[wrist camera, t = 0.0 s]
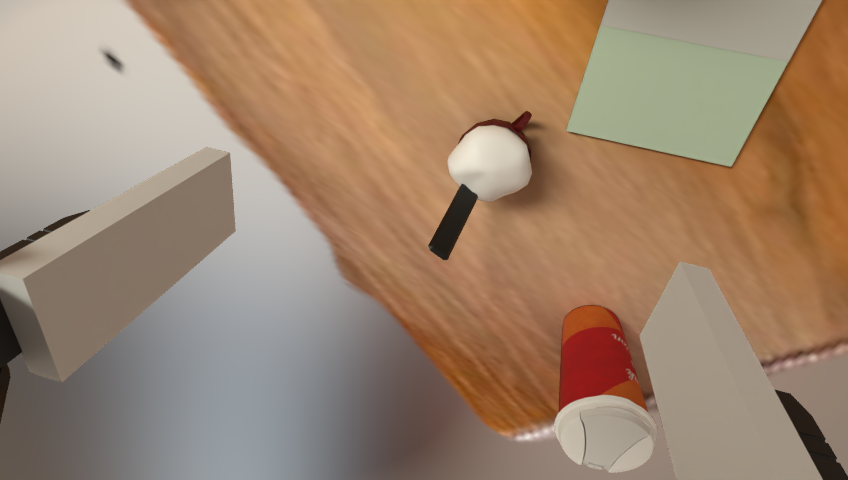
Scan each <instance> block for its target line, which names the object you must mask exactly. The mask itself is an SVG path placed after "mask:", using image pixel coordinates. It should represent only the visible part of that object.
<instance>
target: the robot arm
mask: <svg viewBox="0 0 848 480" xmlns="http://www.w3.org/2000/svg"><path fill="white" fill-rule="evenodd" d="M234 232H235V217H234V203H233V189H232V175H231V161H230V153H229V152H225V151H221V150H216V149H212V148H208V147H206V148H204V149H202V150H200V151H198V152H196V153H195V154H193V155H191V156H189V157H187V158H186V159H184V160H182V161H180V162H179V163H177V164H175V165H173V166H171V167H169V168H167V169H165V170H164V171H162V172H160V173H158V174H157V175H155V176H153V177H151V178H149V179H147V180H145V181H144V182H142V183H140V184H139V185H136V186H135V187H133V188H131V189H129V190H127V191H125V192H124V193H122V194H120V195H118V196H117V197H115V198H113V199H111V200H109V201H107V202H105V203H104V204H102V205H100V206H98V207H96V208H95V209H93V210H91V211H90V210H88V211H85V212H82V213H78V214H75V215H71V216H68V217H65V218H63V219H61V220H59V221H57V222H55V223H53V224H51V225H49V226H48V227H46V228H44V230H43V231H38V232H37V233H34V234H33V235H31V236H29V237H27V240H22V241H19V242H18V243H16V244H14V245H12V246H10V247H8V248H6V249H4V250H3V251H1V252H0V422H1V417H2V412H3V408H4V404H5V399H6V394H7V390H8V385H9V381H10V372H9V367H8V365H7V363H8V362H9V361H11V360H12V359H13V358H15V357H16V356H17V355H19V354H20V353H22V355H23V358H24V360H25V362H26V365H27V367H28V369H29V372H30V373H33V374H36V375H39V376H42V377H46V378H49V379H52V380H55V381H59V382H63V381H64V380H65V379H66V378H67V377H69V376H70V375H71V374H72V373H73V372H74V371H76V370H77V369H78V368H79V367H80V366H81V365H82V364H84V363H85V362H86V361H87V360H88V359H89V358H90V357H92V356H93V355H94V354H95V353H96V352H97V351H98V350H99V349H101V348H102V347H103V346H104V345H105V344H106V343H108V342H109V341H110V340H111V339H112V338H113V337H114V336H116V335H117V334H118V333H119V332H120V331H121V330H123V329H124V328H125V327H126V326H127V325H128V324H129V323H130V322H131V321H133V320H134V319H135V318H136V317H137V316H139V315H140V314H141V313H142V312H143V311H144V310H145V309H147V308H148V307H149V306H150V305H151V304H152V303H153V302H155V300H157V299H158V298H159V297H160V296H161V295H163V294H164V293H165V292H166V291H167V290H168V289H169V288H171V287H172V286H173V285H174V284H175V283H176V282H177V281H179V280H180V279H181V278H182V277H183V276H184V275H185V274H187V273H188V272H189V271H190V270H191V269H192V268H194V266H196V265H197V264H198V263H199V262H200V261H202V260H203V259H204V258H205V257H206V256H207V255H208V254H209V253H211V252H212V251H213V250H214V249H215V248H216V247H218V246H219V245H220V244H221V243H222V242H223V241H224V240H226V239H227V238H228V237H229V236H230V235H231V234H233V233H234ZM640 340H641V344H642V348H643V352H644V356H645V360H646V364H647V368H648V371H649V375H650V379H651V383H652V387H653V391H654V395H655V399H656V403H657V407H658V411H659V415H660V418H661V422H662V426H663V430H664V434H665V438H666V442H667V446H668V450H669V454H670V457H671V462H672V465H673V469H674V473H675V477H676V480H848V476H847V475H846V473H845V471H844V469H843V468H842V466H841V464H840V463H837V462H836V459H837V458H836V456H835V454H834V452H833V451H832V449H831V447H830V446H829V444H828V443H825V437H824V436H823V434H822V432H821V430H820V429H819V427H818V425H817V424H816V422H815V420H814V419H813V417H812V416H811V414H809V413H808V412H807V410H806V409H805V408H804V407H803V406H802V405H801V404H800V403H799V402H798V401H797V400H796V399H795V398H794V397H793V396H792V395H791V394H789V393H785V392H782V391H778V390H774V388H773V386H772V385H771V383H770V381H769V379H768V377H767V375H766V373H765V371H764V370H763V368H762V366H761V364H760V362H759V360H758V358H757V357H756V355H755V353H754V351H753V349H752V347H751V345H750V344H749V342H748V340H747V338H746V336H745V334H744V332H743V331H742V329H741V327H740V325H739V323H738V321H737V319H736V318H735V316H734V314H733V312H732V310H731V308H730V306H729V305H728V303H727V301H726V299H725V297H724V295H723V293H722V292H721V290H720V288H719V286H718V284H717V282H716V280H715V279H714V277H713V275H712V273H711V271H710V269H709V268H705V267H701V266H697V265H693V264H688V263H684V262H679V264H678V266H677V268H676V269H675V271H674V273H673V275H672V277H671V279H670V280H669V282H668V284H667V286H666V288H665V290H664V291H663V293H662V295H661V297H660V299H659V301H658V303H657V304H656V306H655V308H654V310H653V312H652V314H651V315H650V317H649V319H648V321H647V323H646V325H645V326H644V328H643V330H642V332H641V334H640Z"/></svg>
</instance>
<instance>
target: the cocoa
mask: <svg viewBox="0 0 848 480" xmlns="http://www.w3.org/2000/svg"><path fill="white" fill-rule="evenodd" d="M531 116H532V114H531V113H530V112H528V111H526V112H524V113H523V114H522V115H521V116H520V117H518V118H517V119H516V120H515V121H514V122H513V123H512V124H511V123H510V122H507V121H502V120H497V119H492V120H488V121H484V122H480V123H477V124H475V125H474V126H473V127H472V128H470V129H469V130H468V131H467V132H466V133H464V134H463V135H462V137H461V138H460V141H459V143H458V145H457V147H456V148H455V149H454V150H453V152H452V153H451V154H450V155H449V158H448V168H449V173H450V176H451V177H452V178H453V179H454V181H455V182H456V183H457V184H458V186H459V187H460V188H459V190H458V191H457V193H456V195H455V197H454V199H453V201H452V203H451V204H450V206H449V208H448V210H447V212H446V214H445V216H444V217H443V219H442V221H441V223H440V225H439V227H438V229H437V230H436V232H435V234H434V236H433V238H432V240H431V242H430V243H429V245H428V246H429V249H430V251H432V252H433V253H434V254H436V255H437V256H439V257H440V258H441V259H443V260H448V258H449V256H450V254H451V252H452V250H453V247H454V245H455V243H456V241H457V239H458V237H459V235H460V233H461V231H462V229H463V227H464V225H465V223H466V221H467V219H468V217H469V215H470V213H471V211H472V209H473V207H474V205H475V203H476V200H480V201H487V202H493V201H495V200H497V199H499V198H501V197H503V196H505V195H508V194H512V193H515V192H517V191H519V190H520V189H522V188H523V187H525V186H527V185H528V183H529V180H530V178H531V175H532V169H531V148H530V146H529V144H528V142H527V140H526V138H525V136H524V134H523V132H522V131H521V130H522V129H523V128H524V127H525V125H526V124H527V123H528V121H529V120H530V118H531Z"/></svg>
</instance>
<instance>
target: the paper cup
mask: <svg viewBox="0 0 848 480" xmlns="http://www.w3.org/2000/svg"><path fill="white" fill-rule="evenodd" d="M554 430H555V434H556V436H557V438H558V440H559V442H560V443H561V446H562V448H563V450H564V451H565V453H566V454H567V456H569V458H571V459H572V460H573V461H574V462H576V463H577V464H579V465H581V463H582V464H586V465H587V467H590V468H594V469H598V470H602V469H606V470H607V471H608V472H624V471H628V470H631V469H635V468H637V467H639V466H641V465H642V464H644V463H645V462H646V461H647V460H648V459H649V458H650V457H651V455H652V453H653V450H654V444H655V442H656V439H657V434H658V431H657V426H656V423H655V421H654V419H653V418H652V416H651V415H650V414H649V413H648V411H647V407H646V404H645V401H644V398H643V394H642V391H641V388H640V384H639V381H638V378H637V375H636V371H635V368H634V365H633V362H632V359H631V355H630V352H629V349H628V346H627V343H626V339H625V336H624V333H623V330H622V327H621V325H620V322H619V320H618V318H617V317H616V315H615V314H614V313H613V312H611V311H610V310H608V309H606V308H604V307H601V306H596V305H586V306H581V307H578V308H576V309H574V310H572V311H571V312H570V313H569V314H568V315H567V316H566V317H565V319H564V322H563V328H562V343H561V365H560V390H559V413H558V415H557V417H556V419H555V423H554Z"/></svg>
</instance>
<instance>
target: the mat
mask: <svg viewBox="0 0 848 480" xmlns="http://www.w3.org/2000/svg"><path fill="white" fill-rule="evenodd" d="M821 1H822V0H608V3H607V6H606V9H605V12H604V15H603V18H602V21H601V24H600V27H599V30H598V33H597V36H596V40H595V43H594V46H593V49H592V52H591V55H590V58H589V61H588V64H587V67H586V70H585V73H584V76H583V79H582V82H581V86H580V89H579V92H578V95H577V98H576V101H575V104H574V107H573V110H572V113H571V116H570V119H569V122H568V125H567V129H566V131H569V132H574V133H578V134H583V135H587V136H592V137H597V138H601V139H606V140H610V141H615V142H620V143H624V144H629V145H633V146H638V147H642V148H647V149H652V150H656V151H661V152H665V153H670V154H674V155H679V156H684V157H688V158H693V159H697V160H702V161H707V162H711V163H716V164H720V165H725V166H729V167H731V166H732V165H733V163H734V161H735V159H736V157H737V155H738V154H739V152H740V150H741V148H742V146H743V144H744V143H745V141H746V139H747V137H748V135H749V133H750V131H751V130H752V128H753V126H754V124H755V122H756V120H757V119H758V117H759V115H760V113H761V111H762V109H763V108H764V106H765V104H766V102H767V100H768V98H769V97H770V95H771V93H772V91H773V89H774V87H775V85H776V84H777V82H778V80H779V78H780V76H781V74H782V73H783V71H784V69H785V67H786V65H787V63H788V62H789V60H790V58H791V57H792V55H793V53H794V51H795V49H796V47H797V46H798V44H799V42H800V40H801V38H802V36H803V35H804V33H805V31H806V29H807V27H808V25H809V23H810V22H811V20H812V18H813V16H814V14H815V12H816V11H817V9H818V7H819V5H820V3H821Z"/></svg>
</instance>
